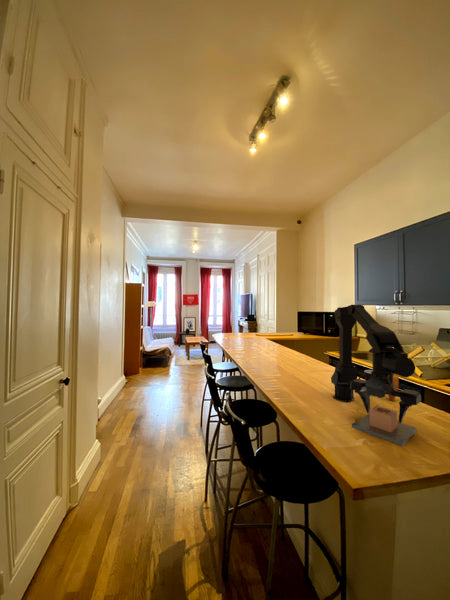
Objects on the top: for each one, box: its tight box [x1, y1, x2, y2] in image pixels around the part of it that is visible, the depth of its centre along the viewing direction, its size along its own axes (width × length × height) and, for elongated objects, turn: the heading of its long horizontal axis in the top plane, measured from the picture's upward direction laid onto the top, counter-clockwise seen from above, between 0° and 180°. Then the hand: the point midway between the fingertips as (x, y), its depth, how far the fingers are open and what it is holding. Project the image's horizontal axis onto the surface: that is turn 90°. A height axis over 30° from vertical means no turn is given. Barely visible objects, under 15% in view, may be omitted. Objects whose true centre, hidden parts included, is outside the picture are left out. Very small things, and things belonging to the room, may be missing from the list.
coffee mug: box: [358, 369, 374, 397], centre depth 113 cm, size 12×9×10 cm
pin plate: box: [351, 412, 418, 447], centre depth 79 cm, size 14×14×6 cm
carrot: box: [387, 374, 399, 402], centre depth 104 cm, size 5×5×15 cm
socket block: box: [368, 404, 398, 432], centre depth 79 cm, size 6×6×5 cm
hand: (383, 417), depth 79 cm, fingers open, 9 cm apart
